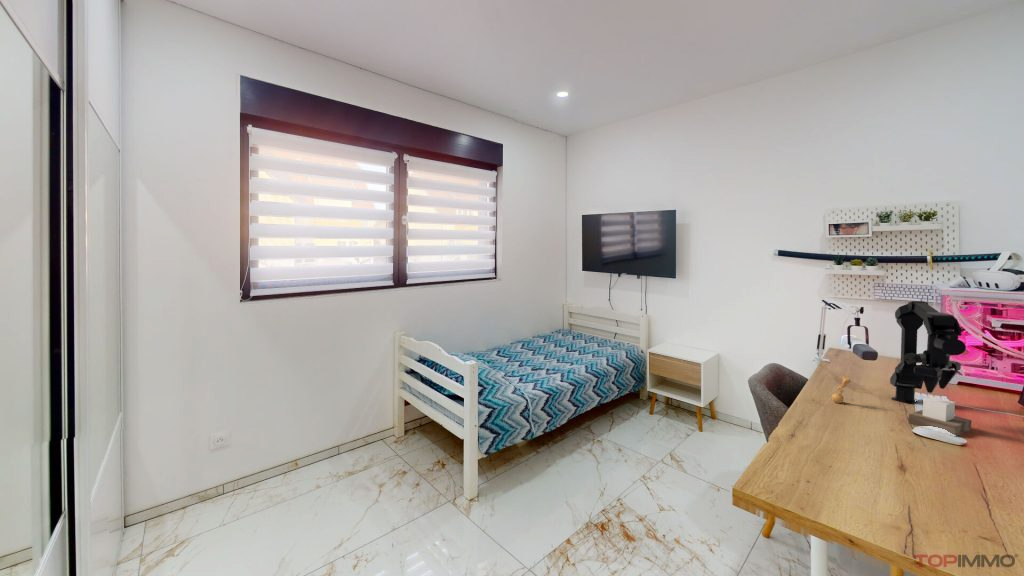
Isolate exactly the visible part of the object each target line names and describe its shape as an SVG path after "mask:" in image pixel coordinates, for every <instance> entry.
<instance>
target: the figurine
mask: <svg viewBox="0 0 1024 576" xmlns="http://www.w3.org/2000/svg"><path fill="white" fill-rule="evenodd" d="M841 379H842V382H841V384H839V386H838V387H837V390H838V391H839V392H837V393H833V394H831V400H832V401H833V402H834V403H836V404H837V403H838V404H840V403H843V402H844V400H845V399H844V396H843V394H842V393H844V390H843V389H844V388H846V387H847V385H849V384H850V383H851V379H850V378H848V377H847V376H845V375H843V376H841Z"/></svg>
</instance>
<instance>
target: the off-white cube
mask: <svg viewBox="0 0 1024 576" xmlns="http://www.w3.org/2000/svg"><path fill="white" fill-rule="evenodd" d="M955 407H956V401H951V400H947V399H943V398H938V397H934V396H930V397H927V398H924V399H923V401H922V410H923V416H927V417H931V418H934V419H938V420H942V421H948V420H951V419H954V416H955V410H956V409H955Z"/></svg>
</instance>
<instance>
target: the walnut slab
mask: <svg viewBox="0 0 1024 576" xmlns="http://www.w3.org/2000/svg"><path fill="white" fill-rule="evenodd" d="M908 424H910V425H913V426H916V427H919V426H933V427H938V428H942V429H945V430H947V431H948V432H950V433H952V434H954V435H957V436H960V435H962V434H965V433H967V432H969V431H971V430H972V419H968V418H964V417H960V416H956V415H954V419H951V420H948V421H942V420H938V419H934V418H931V417H927V416H923V409H920V410H916V411H915V412H912V413H908ZM957 436H956V437H957Z"/></svg>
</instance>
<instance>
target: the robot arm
mask: <svg viewBox="0 0 1024 576" xmlns="http://www.w3.org/2000/svg"><path fill="white" fill-rule="evenodd" d="M894 318H895V320H896V323H897V325H898V326H899V327H900V328H901V335H900V337H901V338H900V339H901V341H900V342H901V343H900V362H899V364H897V365H896V367H895V368H894V372H893V373H892V375H891V376H890V378H889V382H890V385H892V386H893V387H894V388H895V396H894V397H893V396H892V397H891V400H894V401H898V402H902V403H906V404H911V405H912V404H915V403H916V402H915V400H916V399H915V397H916V394H915V391H916V389H917V390H918V389H919V390H922V388H923V384H924V386H925V388H926V392H927V393H929V394H932V393H933V392H934V390H935V389H936V387H937V385H939V386H938V387H939V389H941V390H943V389H945V388H946V387H947V386H948V384H949V383H950V382H951V381H952V379H953V378H954V377H955V376H956V375H957V373H959V371H960V370H961V368H962V367H961V365H962V364H960V362H958V361H956V360H955V361H954V360H951V356H959V355H961V354H963V353H964V352H965V351H966V349H967V347H966V343H964V342H963V341H962V340H960V339H959V337H961V336H962V331H963V329H962V327H961V325H960V324H959V321H958V319H957V318H956V316H954V315H953V314H950V313H946V312H941V311H939V310H937V309H935V308H934V307H932V306H931V305H929V303H928V301H924V300H923V301H922V300H912V301H908V303H906V304H904V305H901V306H899V307H898V308H897V309H896V310H895V313H894ZM923 325H924V327H925V329H926V331H927V332H926V334H927V342H926V343H927V344H926V349H925V350H923V351H922V353H917V352H918V349H917V348H918V331H919V329H920V328H921V327H922V326H923ZM920 363H921V364H920ZM917 364H918V365H917Z"/></svg>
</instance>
